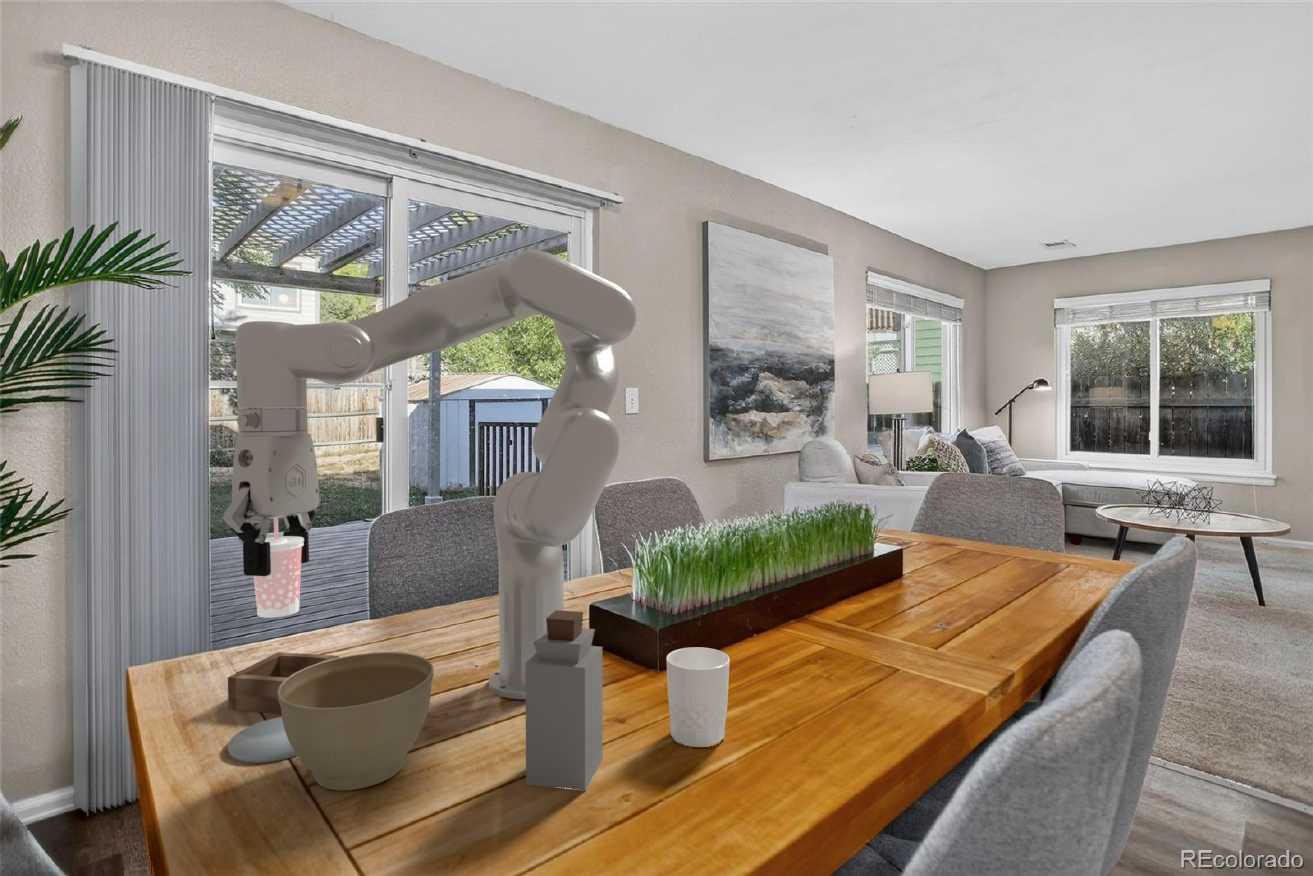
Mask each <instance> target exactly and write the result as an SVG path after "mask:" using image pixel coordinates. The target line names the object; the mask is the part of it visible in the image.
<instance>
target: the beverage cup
mask: <svg viewBox="0 0 1313 876" xmlns="http://www.w3.org/2000/svg"><path fill="white" fill-rule="evenodd" d="M273 534H274V536H271V537H266V540H265V542H270V558H271V573H270V575H268V576H253V583H254V595H255V604H256V612H257V614H256V615H257V616H258V617H260V618H265V619H268V618H271V619H272V618H280V617H286V616H291V615H294V614H296V613H297V612H299V611H300V596H301V573H302V572H301V571H302V563H301V551H302V546H303V545H304V543H303V542H304V538H303V537H297V536H279V535H280V533H279V518H277V519H273Z"/></svg>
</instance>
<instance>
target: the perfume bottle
mask: <svg viewBox="0 0 1313 876" xmlns="http://www.w3.org/2000/svg"><path fill="white" fill-rule="evenodd" d="M583 619H584V612H583V611H577V610H576V611H573V610H572V611H571V610H564V611H560V610H556V611H555V612H553V613H552V614H551V615H550V616H549V617H547V618H546V623H547V630H546V631H544V632H543V633H542V634H541V635H540V636H539V637H538V638H536V639H535V640H534V641H533V642H534V645H535V649H536V652H537V653H536V654H535V655H534V656H533V657H531V658H530V659H529V660H528V661H527V662H526V663H525V695H526V699H525V785H526V786H532V785H534V787H541V786H542V788H543V786H544V788H550V787H561V788H562V787H563V788H565V787H566V788H572V789H577V790H578V789H579V790H583V791H582V792H584V791H585V790H586V791H587V789H588V788H587V787H589V786H590V784H591V782H592V781H591V779H592V777H593V775H594V774H595V775H596V773H597V772H596V770H597V768H598V766H599V765H600V766H601V764H602V763H601V761H602V760H603V755H604V753H603V749H604V747H603V740H604V739H603V736H604V735H603V729H604V728H603V726H604V725H603V724H604V723H603V646H594V645H592V644H593V639H594V635H595V631H596V629H595V628H583ZM602 762H603V761H602ZM600 763H601V764H600ZM600 766H599V767H600ZM598 769H599V768H598ZM597 771H598V770H597ZM595 772H596V773H595ZM595 775H594V776H595ZM593 778H594V777H593ZM592 780H593V779H592ZM590 781H591V782H590ZM589 783H590V784H589ZM535 785H536V786H535ZM588 785H589V786H588ZM586 788H587V789H586ZM586 791H585V792H586Z"/></svg>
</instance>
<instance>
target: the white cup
mask: <svg viewBox="0 0 1313 876" xmlns="http://www.w3.org/2000/svg"><path fill="white" fill-rule="evenodd" d="M729 678H730V657H729V655H728V654H727V653H725V652H723V651H722V650H718V649H715V648H709V647H704V646H703V647H701V646H700V647H696V646H695V647H692V646H691V647H682V648H679V649H674V650H672V651H671V652H669V653H668V654H667V655H666V679H667V681H666V682H667V698H668V713H669V716H670V717H669V718H670V719H669V720H670V737H671V736H672V737H673V738H674V739H673V738H672V737H671V738H672V739H673V741H674V740H675V741H676V742H679V743H681V744H683V745H686V746H710V745H713V744H715V743H718V742H720V741H721V740H722V739H723V738H724V739H725V731H726V730H725V729H726V726H725V725H726V718H727V715H728V714H727V713H728V703H729V702H728V699H729V697H728V696H729V681H730V679H729ZM675 741H674V742H675ZM676 742H675V743H676ZM679 743H678V744H679ZM681 744H680V745H681ZM683 745H682V746H683ZM686 746H685V747H686Z"/></svg>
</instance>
